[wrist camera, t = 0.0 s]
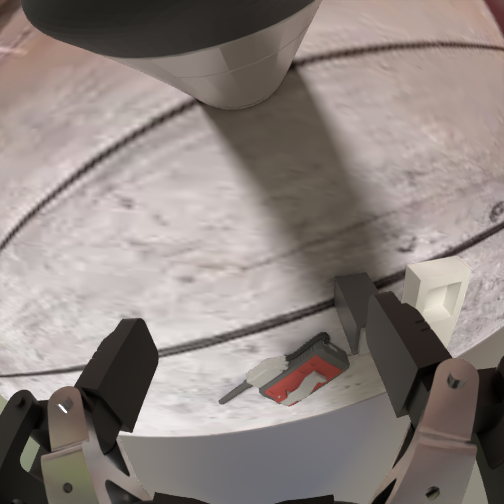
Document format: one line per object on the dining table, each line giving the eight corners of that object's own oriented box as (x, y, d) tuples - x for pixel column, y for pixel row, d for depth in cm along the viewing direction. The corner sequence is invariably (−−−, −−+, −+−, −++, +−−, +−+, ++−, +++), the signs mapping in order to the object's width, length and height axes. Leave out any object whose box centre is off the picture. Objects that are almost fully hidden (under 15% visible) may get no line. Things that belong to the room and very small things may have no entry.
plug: (334, 277, 28) (358, 330, 20) (366, 272, 27) (397, 322, 20) (334, 304, 29) (354, 359, 21) (363, 299, 29) (390, 351, 21)
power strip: (406, 264, 27) (453, 318, 18) (456, 255, 26) (505, 299, 17) (385, 369, 34) (405, 421, 25) (427, 356, 34) (452, 403, 24)
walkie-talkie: (310, 317, 31) (215, 393, 37) (317, 342, 27) (211, 416, 33) (354, 346, 33) (259, 412, 39) (363, 370, 29) (258, 433, 35)
